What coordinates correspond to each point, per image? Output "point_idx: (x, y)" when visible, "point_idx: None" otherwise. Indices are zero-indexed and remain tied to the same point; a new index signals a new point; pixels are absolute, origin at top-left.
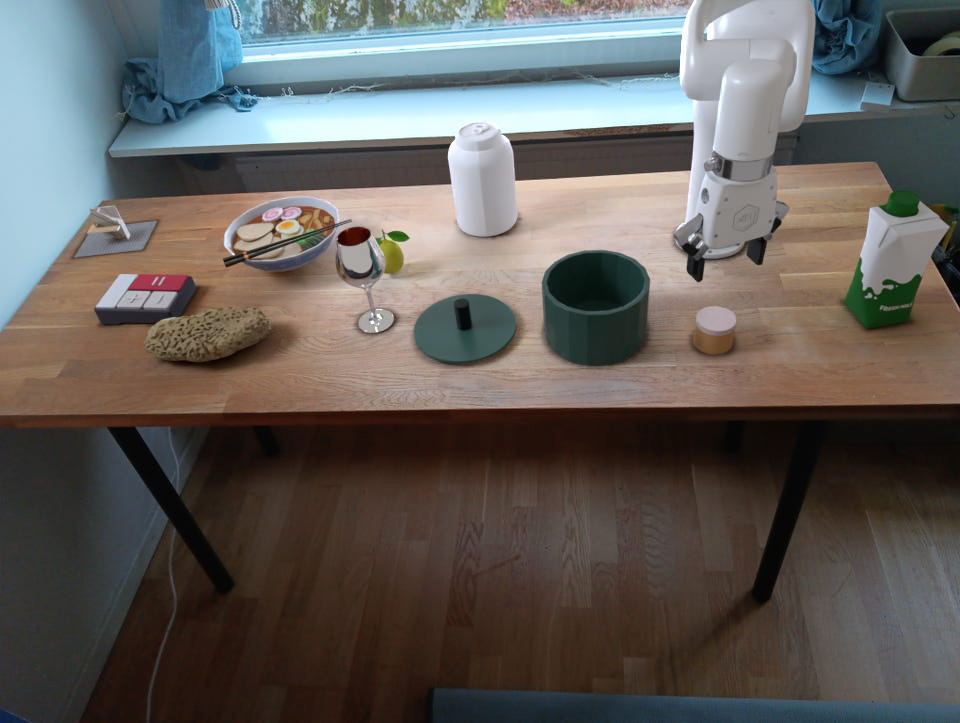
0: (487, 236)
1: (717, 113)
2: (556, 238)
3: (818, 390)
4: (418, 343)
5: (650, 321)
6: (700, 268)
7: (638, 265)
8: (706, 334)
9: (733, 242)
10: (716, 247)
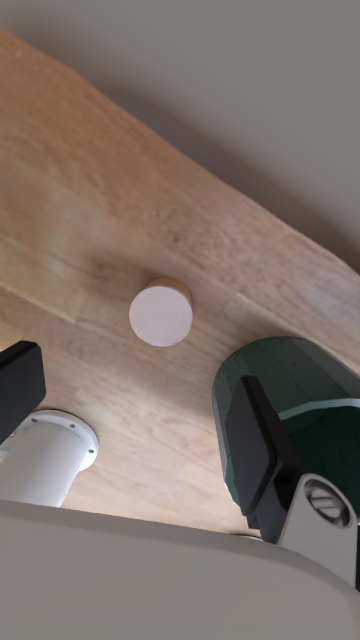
0: (258, 538)
1: None
2: (202, 509)
3: (94, 127)
4: None
5: (207, 372)
6: (278, 421)
7: (232, 468)
8: (189, 302)
9: (128, 574)
10: (330, 592)
